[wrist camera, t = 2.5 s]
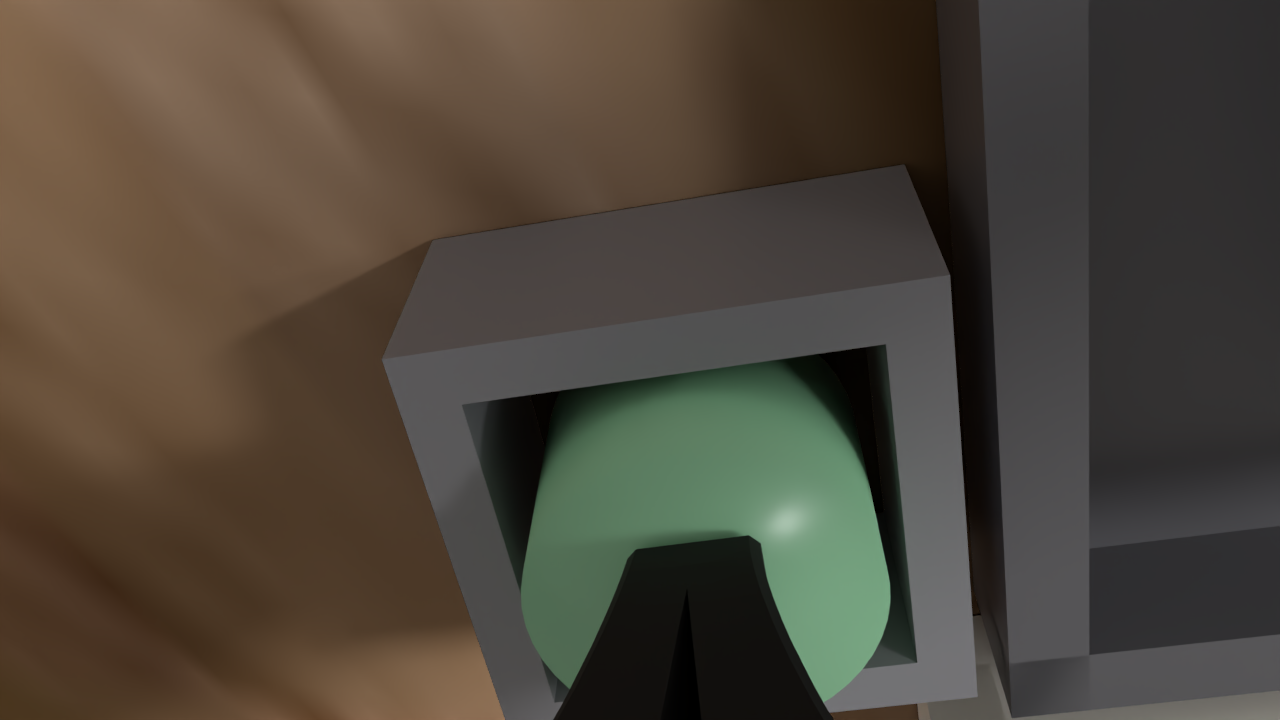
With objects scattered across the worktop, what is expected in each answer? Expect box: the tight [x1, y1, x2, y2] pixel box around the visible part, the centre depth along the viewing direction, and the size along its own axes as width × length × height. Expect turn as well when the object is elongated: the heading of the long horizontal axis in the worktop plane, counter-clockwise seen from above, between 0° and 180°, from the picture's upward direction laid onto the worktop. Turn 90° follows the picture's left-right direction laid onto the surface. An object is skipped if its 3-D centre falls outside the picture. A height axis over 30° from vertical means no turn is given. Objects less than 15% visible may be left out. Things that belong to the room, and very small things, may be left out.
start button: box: [521, 354, 890, 703], centre depth 14 cm, size 4×4×3 cm
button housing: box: [382, 164, 978, 720], centre depth 15 cm, size 6×6×3 cm
